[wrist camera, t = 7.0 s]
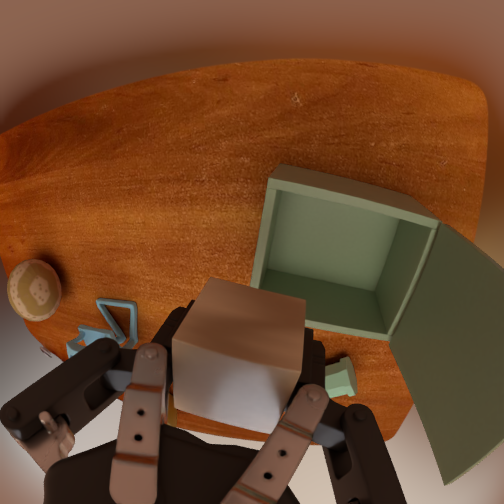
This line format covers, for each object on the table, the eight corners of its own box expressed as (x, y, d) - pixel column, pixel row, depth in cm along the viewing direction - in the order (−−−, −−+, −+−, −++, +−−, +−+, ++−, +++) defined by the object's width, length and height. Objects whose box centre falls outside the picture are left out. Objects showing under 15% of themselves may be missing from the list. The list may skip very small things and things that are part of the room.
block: (306, 299, 13) (301, 372, 9) (283, 365, 15) (272, 434, 11) (210, 276, 14) (171, 338, 10) (203, 345, 16) (173, 408, 12)
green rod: (204, 426, 42) (356, 403, 33) (189, 397, 42) (344, 366, 33) (220, 409, 48) (358, 382, 38) (207, 382, 48) (347, 349, 39)
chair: (113, 337, 46) (76, 383, 35) (98, 297, 43) (53, 341, 32) (149, 343, 44) (115, 396, 34) (135, 301, 41) (91, 352, 30)
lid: (444, 486, 11) (452, 482, 11) (577, 351, 6) (581, 349, 6) (388, 344, 25) (395, 345, 25) (441, 222, 20) (448, 224, 20)
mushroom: (7, 271, 42) (-8, 273, 30) (49, 251, 48) (47, 247, 37) (26, 320, 44) (19, 337, 32) (68, 300, 50) (72, 311, 39)
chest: (260, 269, 35) (244, 313, 27) (279, 163, 29) (268, 177, 22) (376, 294, 33) (390, 341, 26) (410, 195, 28) (442, 221, 20)
